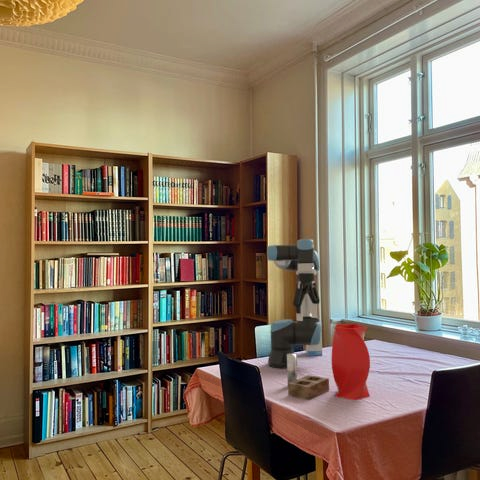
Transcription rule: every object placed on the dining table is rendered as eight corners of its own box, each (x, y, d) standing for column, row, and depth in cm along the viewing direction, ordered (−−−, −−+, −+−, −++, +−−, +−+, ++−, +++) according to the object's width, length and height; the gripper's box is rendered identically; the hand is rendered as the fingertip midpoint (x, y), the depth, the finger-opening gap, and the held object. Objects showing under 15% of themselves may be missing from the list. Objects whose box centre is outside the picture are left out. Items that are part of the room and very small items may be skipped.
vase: (345, 401, 180) (343, 329, 181) (324, 392, 193) (323, 324, 194) (376, 396, 186) (374, 326, 187) (354, 387, 199) (352, 322, 200)
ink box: (322, 355, 263) (321, 332, 263) (307, 355, 263) (307, 332, 263) (320, 352, 271) (319, 329, 272) (305, 352, 271) (305, 329, 272)
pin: (285, 386, 202) (285, 354, 203) (290, 384, 206) (290, 352, 206) (293, 388, 200) (292, 355, 200) (298, 386, 203) (297, 353, 203)
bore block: (288, 395, 190) (287, 383, 190) (308, 386, 202) (308, 374, 202) (309, 399, 183) (308, 387, 183) (329, 390, 196) (328, 378, 196)
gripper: (299, 273, 200) (300, 322, 199) (326, 272, 220) (327, 316, 219) (284, 273, 205) (285, 321, 204) (312, 272, 225) (313, 316, 223)
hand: (307, 319), depth 211 cm, fingers open, 13 cm apart
